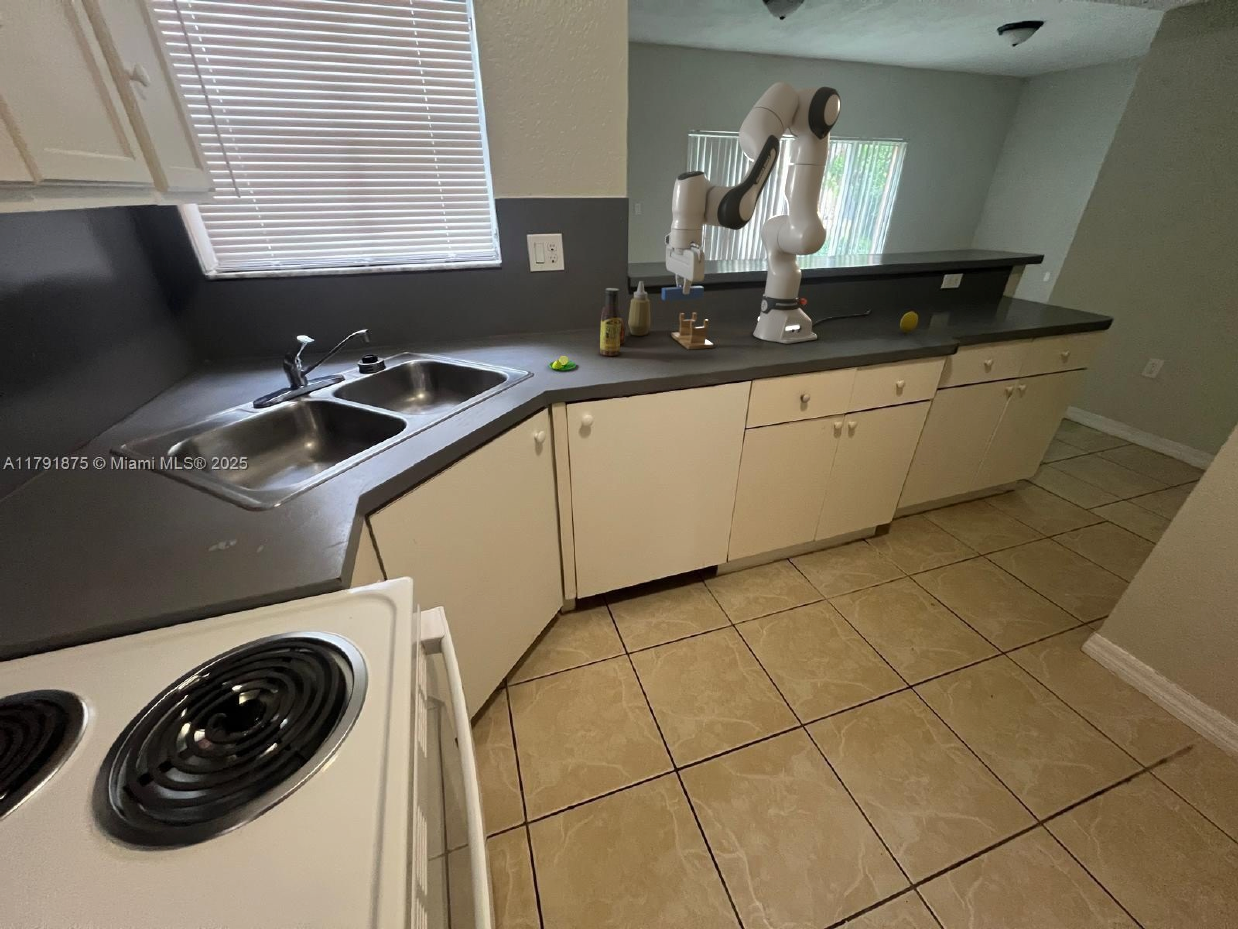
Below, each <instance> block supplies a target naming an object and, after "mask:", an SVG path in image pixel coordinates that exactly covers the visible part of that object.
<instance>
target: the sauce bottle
mask: <svg viewBox="0 0 1238 929" xmlns="http://www.w3.org/2000/svg"><path fill="white" fill-rule="evenodd" d="M619 295H620V289H619V288H616V287H607V288H605V305H604V306H603V308H602V311H601V319H600V334H599V335H600V338H599V352H600V355H602V356H605V357H615V356H619V353H620V349H621V348H620V347H621V344H620V330H621V319H622V315H621V309H620V307H619Z"/></svg>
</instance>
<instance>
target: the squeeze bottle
mask: <svg viewBox="0 0 1238 929" xmlns="http://www.w3.org/2000/svg"><path fill="white" fill-rule="evenodd" d="M627 324H628V327H629V331H630V334H631V335H633V336H639V337H642V336H646V335H647V334H648V333H649V330H650V328H651V325H652V321H651V302H650V300H649V299H648V292H647V291H645V287H644V281H643V280H639V282H638V286H637V290H636V291H634V292H633V298H632V299H630V306H629V313H628V321H627Z"/></svg>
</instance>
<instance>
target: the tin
mask: <svg viewBox="0 0 1238 929" xmlns="http://www.w3.org/2000/svg"><path fill="white" fill-rule="evenodd" d="M626 328H627V327H626V323H625V321H624V320H623V319H622V318H621V330H620V345H623V344H624V343H625V341H626Z"/></svg>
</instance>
